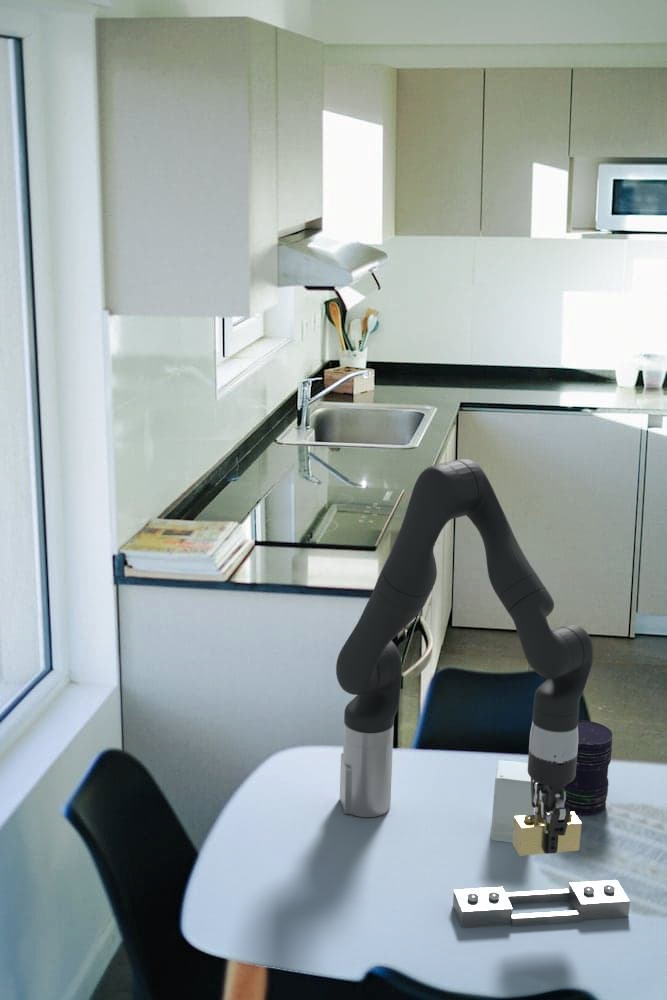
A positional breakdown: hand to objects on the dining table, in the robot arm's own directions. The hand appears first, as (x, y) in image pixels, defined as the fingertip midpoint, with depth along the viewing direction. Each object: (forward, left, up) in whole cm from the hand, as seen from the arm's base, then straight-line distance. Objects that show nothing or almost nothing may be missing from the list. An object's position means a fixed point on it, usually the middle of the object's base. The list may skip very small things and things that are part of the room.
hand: (545, 844), depth 201 cm
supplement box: (+2, +24, -13) cm, 27 cm away
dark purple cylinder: (+18, +33, -13) cm, 40 cm away
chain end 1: (-7, 0, -12) cm, 14 cm away
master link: (0, 0, 0) cm, 0 cm away
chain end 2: (+7, 0, -12) cm, 14 cm away
